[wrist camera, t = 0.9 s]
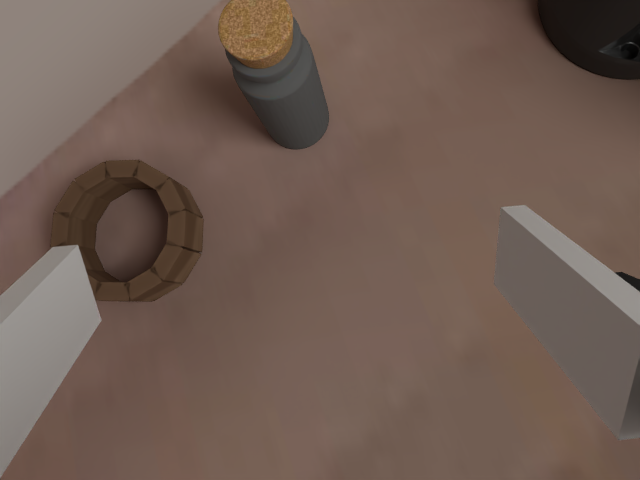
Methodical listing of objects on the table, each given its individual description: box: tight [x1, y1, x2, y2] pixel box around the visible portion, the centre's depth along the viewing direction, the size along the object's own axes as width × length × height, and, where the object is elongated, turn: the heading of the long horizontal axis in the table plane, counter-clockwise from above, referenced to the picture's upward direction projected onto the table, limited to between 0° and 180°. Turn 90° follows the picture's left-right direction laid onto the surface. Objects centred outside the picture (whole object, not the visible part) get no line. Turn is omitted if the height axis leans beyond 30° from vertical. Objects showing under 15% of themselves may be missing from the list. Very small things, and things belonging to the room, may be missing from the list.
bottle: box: [218, 0, 329, 149], centre depth 36 cm, size 6×6×15 cm
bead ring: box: [50, 160, 204, 302], centre depth 42 cm, size 12×12×4 cm
